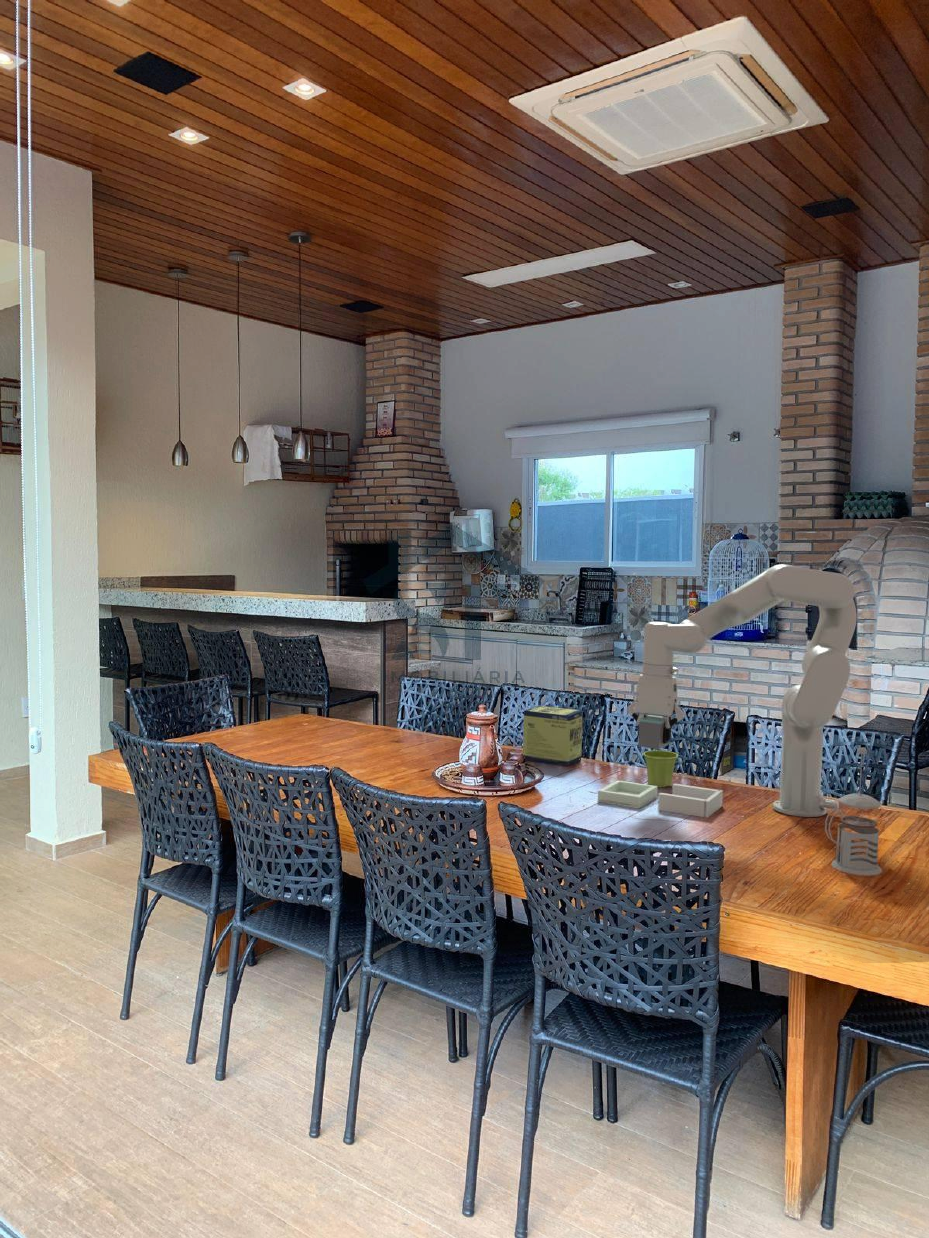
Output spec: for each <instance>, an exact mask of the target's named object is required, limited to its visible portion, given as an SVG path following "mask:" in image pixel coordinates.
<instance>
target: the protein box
mask: <svg viewBox="0 0 929 1238" xmlns="http://www.w3.org/2000/svg"><path fill="white" fill-rule="evenodd" d="M522 733H523V736H522V737H523V738H522V756H523V755H524V757H525V760H524V761H528V762H535V763H536V762H537V763H543V764H549V765H554V766H555V765H556V766H561V767H569V766H571V765H573V764H576V763H577V761H578V760H579V759H580V761H581V760H582V741H583V739H582V737H583V710H581V709H570V708H562V707H561V708H560V707H552V706H546V705H545V706H543V705H538V706H535V707H534V706H533V707H532V708H528V709H524V710H523V731H522ZM578 762H579V761H578Z"/></svg>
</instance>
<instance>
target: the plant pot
mask: <svg viewBox="0 0 929 1238" xmlns="http://www.w3.org/2000/svg"><path fill="white" fill-rule="evenodd" d="M642 755H643V756H644V760H645V763H646V772H647V781H648V785H653V786H657V788H666V787H671V785H672V782H673V781H672V780H673V775H674V769H675V766H676V765H675V764H676V762H677V759H678V758H679V754H678V753H677V752H673V751H669V750H661V749H656V750H655V749H654V750H646V751H644V752H643V753H642Z"/></svg>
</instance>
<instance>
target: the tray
mask: <svg viewBox="0 0 929 1238" xmlns="http://www.w3.org/2000/svg"><path fill="white" fill-rule="evenodd" d="M657 797H658V787H657V786H653V785H649V784H644V783H637V782H631V781H625V780H617V779H616V780H614V782H611V783H610V784H608V785H606V786H604V787H602V788H600V789H598V790H597V802H598V801H599V803H604V802H605V803H604V804H610V805H616V804H620V805H619V806H623V805H625V806H624V807H629V808H636V809H640V808H642V807H644V806H645V805H647V804H648V803H650V802H651V801H652V800H654V799H656V798H657Z"/></svg>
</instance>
